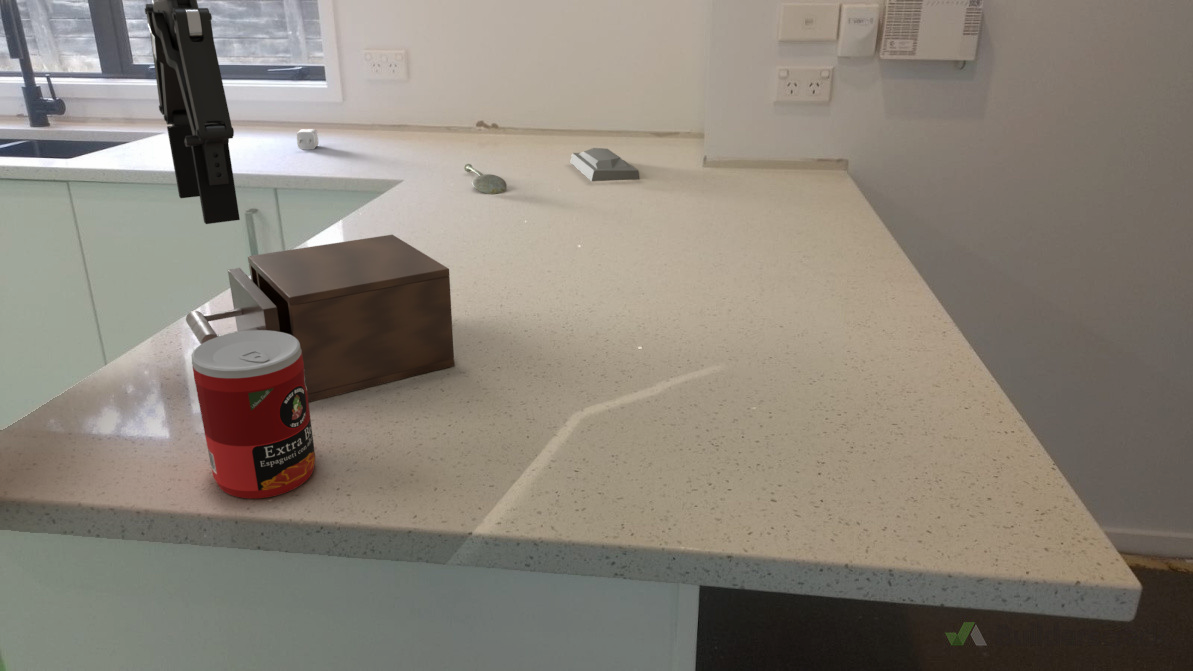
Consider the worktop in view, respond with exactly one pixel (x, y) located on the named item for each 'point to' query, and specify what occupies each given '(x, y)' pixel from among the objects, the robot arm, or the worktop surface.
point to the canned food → (255, 412)
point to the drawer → (246, 309)
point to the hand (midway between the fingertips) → (208, 207)
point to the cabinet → (363, 311)
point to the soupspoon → (487, 181)
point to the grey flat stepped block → (603, 165)
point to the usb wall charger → (307, 139)
